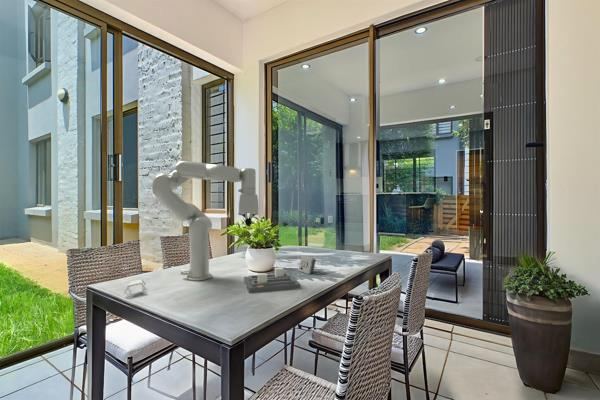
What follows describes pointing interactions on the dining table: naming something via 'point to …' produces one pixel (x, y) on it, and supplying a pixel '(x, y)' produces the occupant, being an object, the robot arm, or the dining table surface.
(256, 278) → the switch panel
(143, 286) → the origami figure
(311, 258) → the electrical switch
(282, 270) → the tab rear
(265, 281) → the tab front
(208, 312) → the dining table surface
